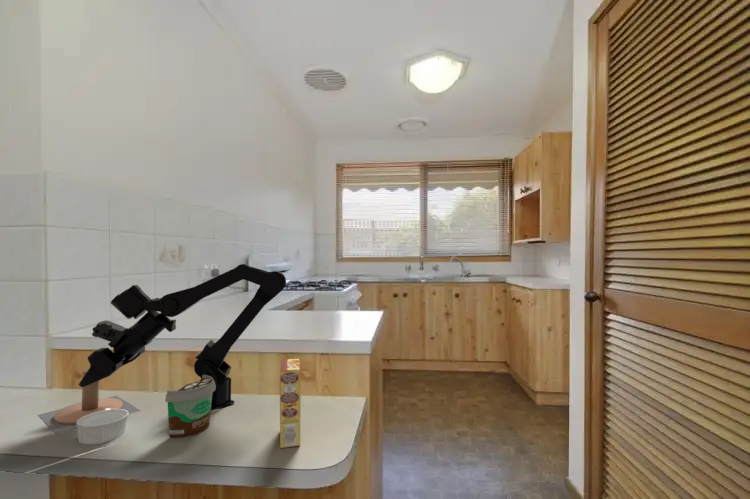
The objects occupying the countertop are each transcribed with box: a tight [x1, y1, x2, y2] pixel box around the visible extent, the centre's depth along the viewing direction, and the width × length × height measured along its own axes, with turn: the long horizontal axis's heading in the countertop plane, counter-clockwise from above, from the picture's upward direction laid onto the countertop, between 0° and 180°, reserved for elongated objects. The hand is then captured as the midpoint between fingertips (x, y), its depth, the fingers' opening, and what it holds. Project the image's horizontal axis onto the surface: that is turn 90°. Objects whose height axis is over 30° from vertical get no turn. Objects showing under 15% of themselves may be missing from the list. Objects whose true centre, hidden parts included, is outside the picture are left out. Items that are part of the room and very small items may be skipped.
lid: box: [54, 368, 123, 424], centre depth 90 cm, size 13×13×10 cm
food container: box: [164, 375, 216, 439], centre depth 82 cm, size 12×6×10 cm, turn 168°
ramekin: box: [76, 409, 130, 445], centre depth 78 cm, size 9×9×4 cm
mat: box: [37, 395, 141, 435], centre depth 89 cm, size 16×16×1 cm
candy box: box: [279, 358, 302, 449], centre depth 78 cm, size 9×4×15 cm, turn 13°
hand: (90, 379), depth 90 cm, fingers open, 9 cm apart
